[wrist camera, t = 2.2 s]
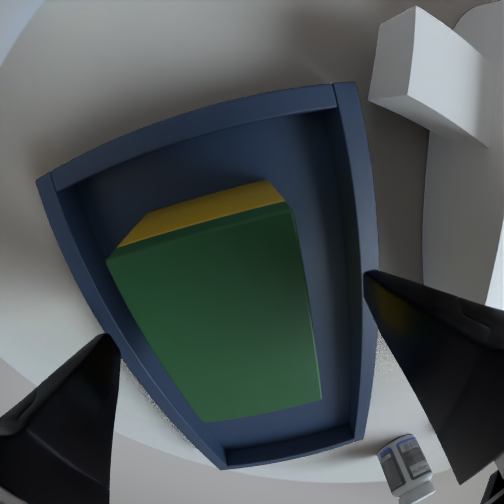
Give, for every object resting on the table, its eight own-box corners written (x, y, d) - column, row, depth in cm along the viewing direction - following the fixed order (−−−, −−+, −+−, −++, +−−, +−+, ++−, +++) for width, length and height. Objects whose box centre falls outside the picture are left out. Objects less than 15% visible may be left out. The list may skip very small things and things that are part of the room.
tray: (219, 450, 18) (220, 470, 16) (61, 171, 9) (34, 180, 7) (356, 420, 17) (363, 439, 16) (334, 89, 9) (355, 81, 7)
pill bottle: (383, 457, 23) (403, 509, 16) (371, 452, 22) (392, 512, 14) (417, 437, 22) (441, 489, 15) (409, 430, 21) (436, 489, 13)
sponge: (206, 353, 12) (202, 423, 9) (146, 212, 10) (103, 260, 6) (300, 331, 12) (322, 399, 9) (267, 178, 9) (293, 208, 6)
